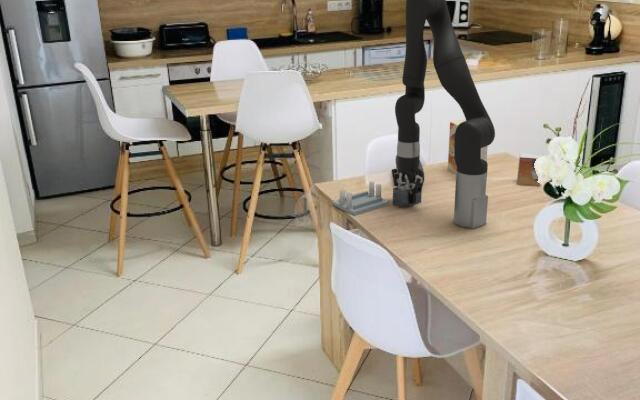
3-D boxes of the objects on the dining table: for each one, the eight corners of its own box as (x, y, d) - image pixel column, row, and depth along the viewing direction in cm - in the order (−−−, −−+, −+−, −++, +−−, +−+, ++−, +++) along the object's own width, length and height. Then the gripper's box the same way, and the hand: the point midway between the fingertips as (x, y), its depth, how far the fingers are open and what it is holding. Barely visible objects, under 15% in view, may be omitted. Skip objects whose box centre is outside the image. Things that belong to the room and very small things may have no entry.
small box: (516, 184, 234) (519, 157, 230) (517, 179, 239) (519, 152, 235) (540, 186, 231) (542, 158, 228) (539, 181, 236) (542, 154, 233)
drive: (421, 202, 220) (421, 185, 218) (401, 208, 215) (402, 191, 213) (412, 198, 223) (412, 182, 221) (392, 204, 219) (392, 188, 216)
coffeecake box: (446, 170, 251) (449, 121, 244) (461, 167, 253) (464, 119, 246) (470, 181, 238) (473, 130, 231) (486, 178, 241) (489, 127, 234)
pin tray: (388, 204, 219) (389, 187, 216) (354, 215, 211) (354, 197, 208) (366, 195, 228) (366, 178, 225) (332, 205, 220) (332, 187, 217)
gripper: (431, 156, 209) (429, 204, 216) (402, 146, 220) (400, 193, 226) (414, 160, 205) (413, 210, 212) (385, 150, 216) (384, 198, 222)
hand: (406, 201), depth 219 cm, fingers closed on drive, 4 cm apart
